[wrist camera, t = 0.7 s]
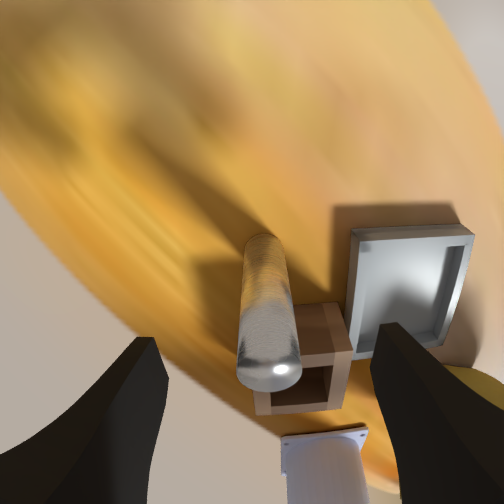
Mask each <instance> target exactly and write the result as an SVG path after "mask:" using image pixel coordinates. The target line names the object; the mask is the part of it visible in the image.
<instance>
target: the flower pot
mask: <svg viewBox="0 0 504 504" xmlns="http://www.w3.org/2000/svg"><path fill="white" fill-rule="evenodd" d="M443 366H444V367H445V368H447V369H448V370H449V371H450V372H451V373H452V374H454V375H455V376H456V377H457V378H458V379H460V380H461V381H462V382H463V383H464V384H466V385H467V386H468V387H470V388H471V389H472V390H474V391H475V392H476V393H478V394H479V395H481V396H482V397H484V398H485V399H486V400H488V401H489V402H491V403H492V404H494V405H496V406H497V407H499V408H501V409H502V410H504V385H503V384H502V383H501V382H500V381H498V380H497V379H495V378H493V377H492V376H490V375H488V374H486V373H483V372H481V371H478V370H476V369H473V368H464V367H456V366H449V365H443ZM399 486H400V481H399ZM400 499H401V500H402V497H401V489H400Z"/></svg>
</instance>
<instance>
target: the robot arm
mask: <svg viewBox="0 0 504 504" xmlns="http://www.w3.org/2000/svg"><path fill="white" fill-rule="evenodd" d="M370 371H371V376H372V381H373V385H374V390H375V394H376V397H377V400H378V403H379V406H380V409H381V412H382V415H383V418H384V421H385V424H386V427H387V430H388V433H389V436H390V439H391V443H392V446H393V449H394V453H395V457H396V463H397V468H398V474H399V481H400V489H401V497H402V504H504V410H502V409H501V408H499V407H497V406H496V405H494V404H492V403H491V402H489V401H488V400H486V399H485V398H484V397H482V396H481V395H479V394H478V393H476V392H475V391H474V390H472V389H471V388H470V387H468V386H467V385H466V384H464V383H463V382H462V381H461V380H460V379H458V378H457V377H456V376H455V375H454V374H452V373H451V372H450V371H449V370H448V369H447V368H445V367H444V366H443V365H442V364H441V363H440V362H439V361H438V360H437V359H436V358H434V357H433V356H432V355H431V354H430V353H429V352H428V351H427V350H426V349H425V348H424V347H423V346H422V345H421V344H420V343H419V342H418V341H417V340H415V339H414V338H413V337H412V336H411V335H410V334H409V333H408V332H407V331H406V330H405V329H404V328H403V327H402V326H401V325H400V324H399V323H398V322H392V323H385V324H380V325H379V330H378V335H377V339H376V343H375V348H374V352H373V356H372V360H371V364H370ZM168 382H169V377H168V374H167V372H166V369H165V367H164V364H163V361H162V359H161V356H160V353H159V351H158V348H157V345H156V342H155V339H154V337H136V338H135V339H134V341H133V342H132V343H131V344H130V345H129V346H128V347H127V348H126V349H125V350H124V352H123V353H122V354H121V355H120V356H119V357H118V358H117V359H116V360H115V362H114V363H113V364H112V365H111V366H110V367H109V368H108V369H107V370H106V372H105V373H104V374H103V375H102V376H101V377H100V378H99V379H98V380H97V381H96V382H95V383H94V384H93V385H92V386H91V387H90V388H89V389H88V390H87V391H86V392H85V393H84V395H82V396H81V397H80V398H79V399H78V400H77V401H76V402H75V403H74V404H73V405H72V406H71V407H70V408H69V409H68V410H66V411H65V412H64V413H63V414H62V415H60V416H59V417H58V418H57V419H56V420H54V421H53V422H52V423H51V424H49V425H48V426H46V427H45V428H43V429H42V430H41V431H39V432H38V433H36V434H35V435H34V436H32V437H31V438H30V439H28V440H26V441H24V442H23V443H21V444H19V445H17V446H16V447H14V448H12V449H10V450H8V451H6V452H4V453H2V454H0V504H147V491H148V481H149V471H150V465H151V461H152V456H153V452H154V448H155V444H156V440H157V436H158V433H159V429H160V425H161V421H162V417H163V413H164V409H165V405H166V398H167V391H168ZM368 432H369V429H368V427H359V428H353V429H346V430H339V431H332V432H324V433H315V434H305V435H293V436H284V437H282V438H281V475H282V476H286V478H287V499H288V504H370V501H369V495H368V490H367V484H366V479H365V474H364V469H363V464H362V459H361V455H360V451H361V448H362V446H363V444H364V442H365V439H366V437H367V434H368Z"/></svg>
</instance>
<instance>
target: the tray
mask: <svg viewBox="0 0 504 504" xmlns="http://www.w3.org/2000/svg"><path fill="white" fill-rule="evenodd" d="M474 237H475V234H473V233H472V232H471V231H470V230H469V229H467V228H466V227H465V226H463V225H462V224H444V225H420V226H397V227H376V228H356V229H351V245H350V259H349V272H348V283H347V293H346V303H345V312H344V323H345V326H346V329H347V332H348V335H349V338H350V341H351V344H352V347H353V356H352V360H359V359H367V358H372V356H373V352H374V348H375V343H376V339H377V335H378V330H379V325H380V324H385V323H392V322H398V323H399V324H400V325H401V326H402V327H403V328H404V329H405V330H406V331H407V332H408V333H409V334H410V335H411V336H412V337H413V338H414V339H415V340H417V341H418V342H419V343H420V344H421V345H422V346H423V347H424V348H425V349H427V348H432V347H437V346H441V345H443V343H444V340H445V337H446V335H447V332H448V329H449V326H450V324H451V321H452V318H453V315H454V312H455V309H456V306H457V302H458V299H459V296H460V293H461V289H462V286H463V282H464V279H465V275H466V271H467V267H468V263H469V259H470V255H471V251H472V247H473V242H474Z"/></svg>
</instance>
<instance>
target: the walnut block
mask: <svg viewBox="0 0 504 504" xmlns="http://www.w3.org/2000/svg"><path fill="white" fill-rule="evenodd" d="M293 309H294V316H295V322H296V329H297V336H298V343H299V349H300V356H301V363H302V374H301V377H300V378H299V380H298V381H297V382H296V383H295V384H294V385H292V386H290V387H289V388H287V389H284V390H281V391H276V392H260V391H255V390H253V398H254V405H255V413H256V416H258V415H279V414H294V413H305V412H316V411H325V410H333V409H341V408H342V404H343V400H344V395H345V390H346V386H347V381H348V376H349V371H350V366H351V361H352V356H353V347H352V344H351V341H350V338H349V335H348V332H347V329H346V326H345V323H344V320H343V317H342V314H341V311H340V308H339V305H338V302H329V303H317V304H304V305H293Z"/></svg>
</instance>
